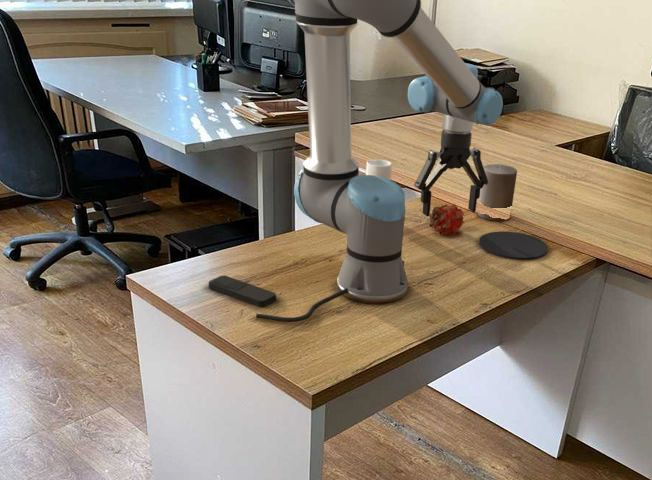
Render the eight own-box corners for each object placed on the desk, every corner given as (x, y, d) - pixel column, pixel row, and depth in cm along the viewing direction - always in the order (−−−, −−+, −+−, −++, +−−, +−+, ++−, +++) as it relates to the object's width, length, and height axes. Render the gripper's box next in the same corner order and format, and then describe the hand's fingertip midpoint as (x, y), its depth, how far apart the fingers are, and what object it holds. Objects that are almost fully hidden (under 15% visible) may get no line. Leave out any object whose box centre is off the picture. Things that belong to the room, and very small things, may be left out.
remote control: (278, 301, 144) (222, 279, 149) (278, 293, 143) (222, 272, 148) (262, 310, 140) (206, 287, 145) (262, 302, 139) (205, 279, 144)
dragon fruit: (426, 242, 183) (455, 239, 191) (449, 232, 177) (478, 229, 186) (417, 211, 183) (446, 209, 191) (440, 199, 177) (469, 198, 186)
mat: (501, 263, 171) (501, 260, 171) (466, 236, 185) (466, 234, 184) (561, 256, 179) (561, 253, 178) (523, 231, 192) (524, 229, 192)
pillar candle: (517, 218, 201) (525, 166, 194) (494, 223, 195) (501, 170, 188) (493, 207, 207) (500, 157, 200) (470, 213, 201) (476, 161, 194)
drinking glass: (360, 213, 193) (362, 159, 185) (382, 212, 195) (385, 158, 188) (369, 222, 187) (372, 167, 180) (392, 220, 190) (396, 165, 183)
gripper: (492, 125, 181) (483, 204, 191) (404, 128, 170) (400, 211, 181) (507, 132, 175) (497, 213, 186) (417, 136, 165) (412, 221, 175)
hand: (449, 212), depth 184 cm, fingers open, 13 cm apart
